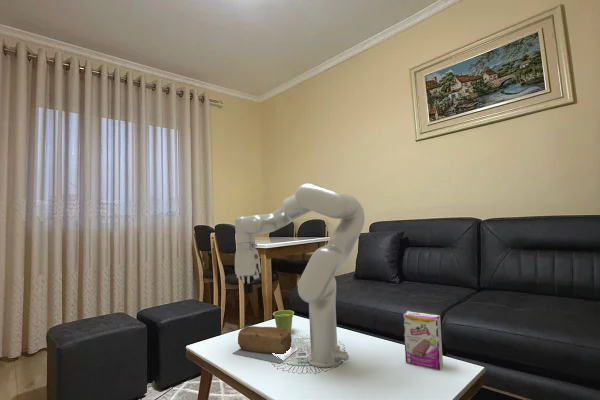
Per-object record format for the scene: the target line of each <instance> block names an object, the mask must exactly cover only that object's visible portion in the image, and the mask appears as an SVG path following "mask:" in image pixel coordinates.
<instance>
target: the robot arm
mask: <svg viewBox="0 0 600 400" xmlns="http://www.w3.org/2000/svg"><path fill="white" fill-rule="evenodd" d="M281 205H282V206H281V207H280V208H278V209H276V210H274V211H273V212H270V213H267V214H263V213H262V214H253V215H249V216H247V215H246V216H238V217H236V218H235V219H234V227H235V229H234V230H235V243H236V244H235V245H236V251H235V255H234V273H235V275H236V278H237V279H239V280H241V281H242V284H243V290H244V291H243V292H244V294H245V295H249V294H252V293H253V291H254V290H253V289H254V287H253V284H254V281H255V280H256V279H260V274H261V273H262V269H261V267H262V266H261V260H260V255H259V252H258V249H256V248H257V247H258V244H257V243H256V238H255V236H256V235H258V234H259V235H260V234H268V233H272V232H275V231H277V230H280V229H282V228H283V227H285V226H288V225H289V224H291V223H292V222H294V221H295V220H297V219H298V218H300V217H303V216H305V215H307V214H309V213H310V212H314V213H317V214H320V215H323V216H325V217H329V218H330V219H335V220H337V219H338V220H340V221H339V222H338V224H337V226H336V227H335V229H334V231H333V232H332V235H331V237H330V239H329V240H328V242H327V243H326V245H324V246H320V247H319V248H317V249H316V250H315V251H314V252H313V253H312V255H311V257H310V258H309V259H308V262H307V265H306V266H305V269H304V270H303V272H302V274H301V276H300V278H299V281H298V283H297V292H298V293H297V294H298V296H299V297H300V299H301V300H302V301H303V302H305V303H308V311H309V312H308V313H309V314H308V317H309V318H308V319H309V339H310V353H311V354H310V355H309V356H306V362H307V361H308V362H309V363H308V362H307V363H308V364H309V365H310V366H313V367H317V368H331V367H335V366H338V365H340V364H341V363H342V362H343V361H348V360H349V357H350V356H349V353H348V351H345V350H341V345H338V334H337V333H338V332H337V313H336V312H337V311H336V309H337V308H336V305H337V304H336V301H337V300H336V297H337V281H336V278H335V274H336V273H337V272H339V271H341V270H342V269H343V268H344V267H345V266H346V264H347V262H348V260H349V257H350V256H351V253H352V251H353V249H354V248H355V245H356V243H357V241H358V239H359V237H360V236H361V233H362V231H363V229H364V225H365V219H366V218H365V217H366V216H365V211H364V208H363V206H362V204H361V203H360V201H359V200H358V199H357V198H356V197H354V196H353V195H350V194H346V193H339V192H336V191H334V190H333V191H332V190H330V189H326V188H324V186H322V185H320V184H316V183H310V182H306V183H304V184H301V185H299V187H297V189H296V191H295V193H294V194H293V195H290V196H288V197H287V198H285V199H283V201H282V204H281Z"/></svg>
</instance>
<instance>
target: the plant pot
mask: <svg viewBox="0 0 600 400" xmlns="http://www.w3.org/2000/svg"><path fill="white" fill-rule="evenodd" d="M294 314H295V312H294V311H293V310H290V309H288V310H287V309H285V310H284V309H283V310H277V311H274V312H273V313H272V316H273V318H274V320H275V327H276V328H283V329H286V330H288V331H289V332H290V333H292V326H293V317H294Z"/></svg>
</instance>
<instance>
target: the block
mask: <svg viewBox="0 0 600 400" xmlns="http://www.w3.org/2000/svg"><path fill="white" fill-rule="evenodd" d="M291 333H292V332H291ZM291 333H290V332H289V331H288V330H286V329H283V328H277V327H276V326H252V325H251V326H245V327H243V328H242V329H240V330H239V332H238V335H237V344H238V346H239V349H240V348H242V349H244V350H248V351H255V352H263V353H275V354H284V353H286V351H288V350H289V349H290V347H292V334H291Z"/></svg>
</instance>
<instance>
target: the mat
mask: <svg viewBox="0 0 600 400" xmlns="http://www.w3.org/2000/svg"><path fill="white" fill-rule="evenodd" d="M232 355H236V356H241V357H246V358H250V359H255V360H260V361H265V362H269V363H270V362H271V363H275V364H278V365H281V364H282V363H283V362H284V361H283V360H282V359H280V358H279V357H278V356H277V357H278V358H277V357H276V356H274V355H273V354H272V353H263V352H255V351H248V350H244V349H242V348H240V347H239V349H237V350H235V351H234V352H232ZM282 361H283V362H282Z"/></svg>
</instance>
